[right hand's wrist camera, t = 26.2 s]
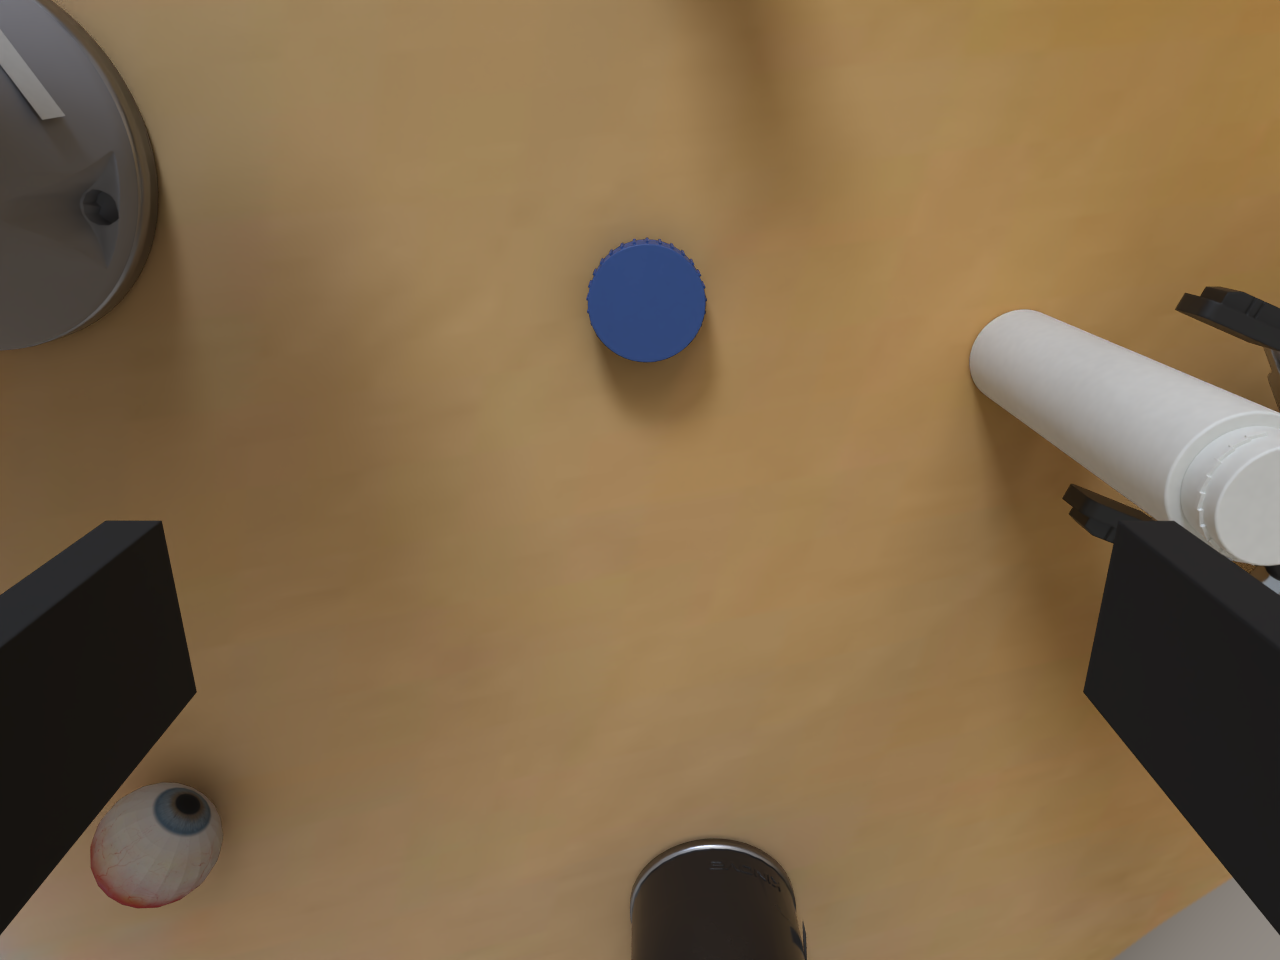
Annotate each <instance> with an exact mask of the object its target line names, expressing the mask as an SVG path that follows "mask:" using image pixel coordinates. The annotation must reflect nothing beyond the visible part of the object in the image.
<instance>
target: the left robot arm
mask: <svg viewBox="0 0 1280 960" xmlns="http://www.w3.org/2000/svg"><path fill="white" fill-rule="evenodd" d="M1175 310H1177V311H1179V312H1181V313H1183V314H1186V315H1188V316H1190V317H1192V318H1195V319H1197V320H1199V321H1201V322H1204V323H1206V324H1208V325H1210V326H1213V327H1215V328H1217V329H1220V330H1222V331H1224V332H1226V333H1229V334H1231V335H1233V336H1235V337H1238V338H1240V339H1242V340H1244V341H1247V342H1249V343H1253V344H1256V345H1259V346H1262V347H1264V350H1265V353H1266V356H1267V359H1268V361H1269V364H1270V367H1271V370H1272V371H1271V373H1269V374H1268V381H1269V384H1270V387H1271V389H1272V392H1273V395H1274V398H1275V400H1276V403H1277V406H1278V409H1279V411H1280V308H1278V307H1275V306H1273V305H1271V304H1269V303H1267V302H1264V301H1262V300H1260V299H1258V298H1255V297H1253V296H1251V295H1249V294H1247V293H1244V292H1241V291H1237V290H1232V289H1228V288H1223V287H1206V288H1205V289H1204V291H1203V293H1202V294H1201V296H1196V295H1192V294H1188V293H1185V294H1184V295H1183V297H1182V299H1181V300H1180V302H1179V304H1178V305H1177V307H1176V309H1175ZM1063 499H1064V500H1065V501H1066V502H1067V503H1069V504H1070V505H1071V506H1072V507H1073V508H1072V509H1071V511H1070V513H1069V515H1070V516H1071V517H1072V518H1073V519H1074V520H1075V521H1076V522H1077V523H1078V524H1079V525H1081V526H1082V527H1083V528H1084V529H1085V530H1087V531H1088V532H1089V533H1090V534H1092V535H1093V536H1096V537H1098V538H1101V539H1103V540H1106V541H1108V542H1111V543H1114V540H1115V535H1116V530H1117V525H1118V521H1158V520H1156V519H1155V518H1154V517H1151V518H1150V517H1149V516H1147V515H1146V514H1144V513H1143V512H1141V511H1139V510H1136V509H1134V508H1131V507H1129V506H1127V505H1124V504H1122V503H1119V502H1117V501H1114V500H1112V499H1109V498H1107V497H1104V496H1102V495H1099V494H1097V493H1094V492H1092V491H1089V490H1087V489H1084V488H1082V487H1079V486H1077V485H1074V484H1071V485H1070V486H1069V488H1068V490H1067V491H1066V493H1065V495H1064V496H1063ZM1222 555H1223V554H1222ZM1223 556H1225V555H1223ZM1225 557H1226V558H1228V559H1229V560H1230V561H1234V560H1233V559H1231V558H1229V557H1227V556H1225ZM1255 566H1256V567H1255V568H1254V569H1253V570H1252V571H1251V572H1250V573H1249V574H1250V575H1252V576H1253V577H1255V578H1256V579H1257V580H1259V581H1260V582H1262V583H1263V584H1264V585H1266V586H1267V587H1269V588H1270V589H1272V590H1273V591H1274V592H1276V593H1277V594H1279V595H1280V565H1272V566H1260V565H1255ZM630 917H631V923H632V956H631V960H807V952H806V932H805V928H804V923H803V946H802V941H801V936H800V931H799V926H798V922H797V917H796V904H795V897H794V892H793V888H792V884H791V882H790V879H789V877H788V876H787V874H786V872H785V871H784V869H783V868H782V867H781V866H780V865H779V863H778V862H777V861H775V860H774V859H773V858H772V857H771V856H769V855H768V854H767V853H765V852H763V851H762V850H760V849H758V848H756V847H753V846H751V845H748V844H745V843H742V842H738V841H733V840H726V839H703V840H696V841H691V842H687V843H683V844H680V845H678V846H675V847H673V848H671V849H669V850H667V851H665V852H663V853H661V854H660V855H658V856H657V857H656V858H654V859H653V860H652V861H651V862H650V863H649V864H648V865H647V866H646V867H645V868H644V869H643V870H642V872H641V873H640V874H639V876H638V878H637V879H636V882H635V884H634V886H633V889H632V893H631V900H630ZM803 948H804V952H803Z"/></svg>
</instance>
